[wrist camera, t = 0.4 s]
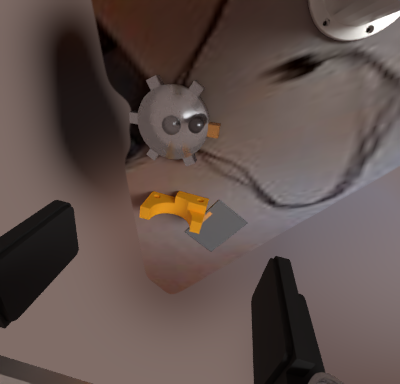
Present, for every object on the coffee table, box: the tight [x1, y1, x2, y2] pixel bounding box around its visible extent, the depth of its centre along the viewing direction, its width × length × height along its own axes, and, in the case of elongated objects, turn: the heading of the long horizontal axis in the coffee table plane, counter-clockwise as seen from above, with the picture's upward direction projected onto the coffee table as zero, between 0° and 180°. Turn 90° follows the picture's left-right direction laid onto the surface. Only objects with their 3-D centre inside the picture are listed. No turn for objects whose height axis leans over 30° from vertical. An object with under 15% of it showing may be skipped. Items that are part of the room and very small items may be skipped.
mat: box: [185, 200, 247, 252], centre depth 49 cm, size 12×8×1 cm, turn 141°
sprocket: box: [129, 75, 221, 166], centre depth 35 cm, size 15×14×7 cm
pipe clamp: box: [140, 191, 209, 234], centre depth 45 cm, size 12×4×6 cm, turn 79°
